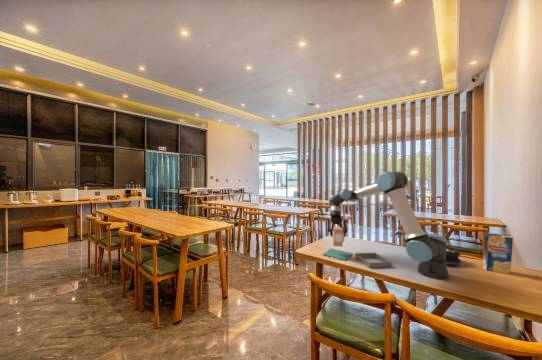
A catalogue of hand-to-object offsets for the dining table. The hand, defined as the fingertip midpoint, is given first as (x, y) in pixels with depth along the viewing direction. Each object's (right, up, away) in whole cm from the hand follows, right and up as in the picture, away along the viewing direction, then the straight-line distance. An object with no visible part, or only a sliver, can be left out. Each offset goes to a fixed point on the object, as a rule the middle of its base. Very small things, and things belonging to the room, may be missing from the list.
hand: (338, 240), depth 162 cm
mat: (0, -11, +4) cm, 11 cm away
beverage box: (+93, -14, -17) cm, 95 cm away
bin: (+20, -12, -9) cm, 24 cm away
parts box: (0, -4, +4) cm, 6 cm away
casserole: (+71, -13, -2) cm, 72 cm away
